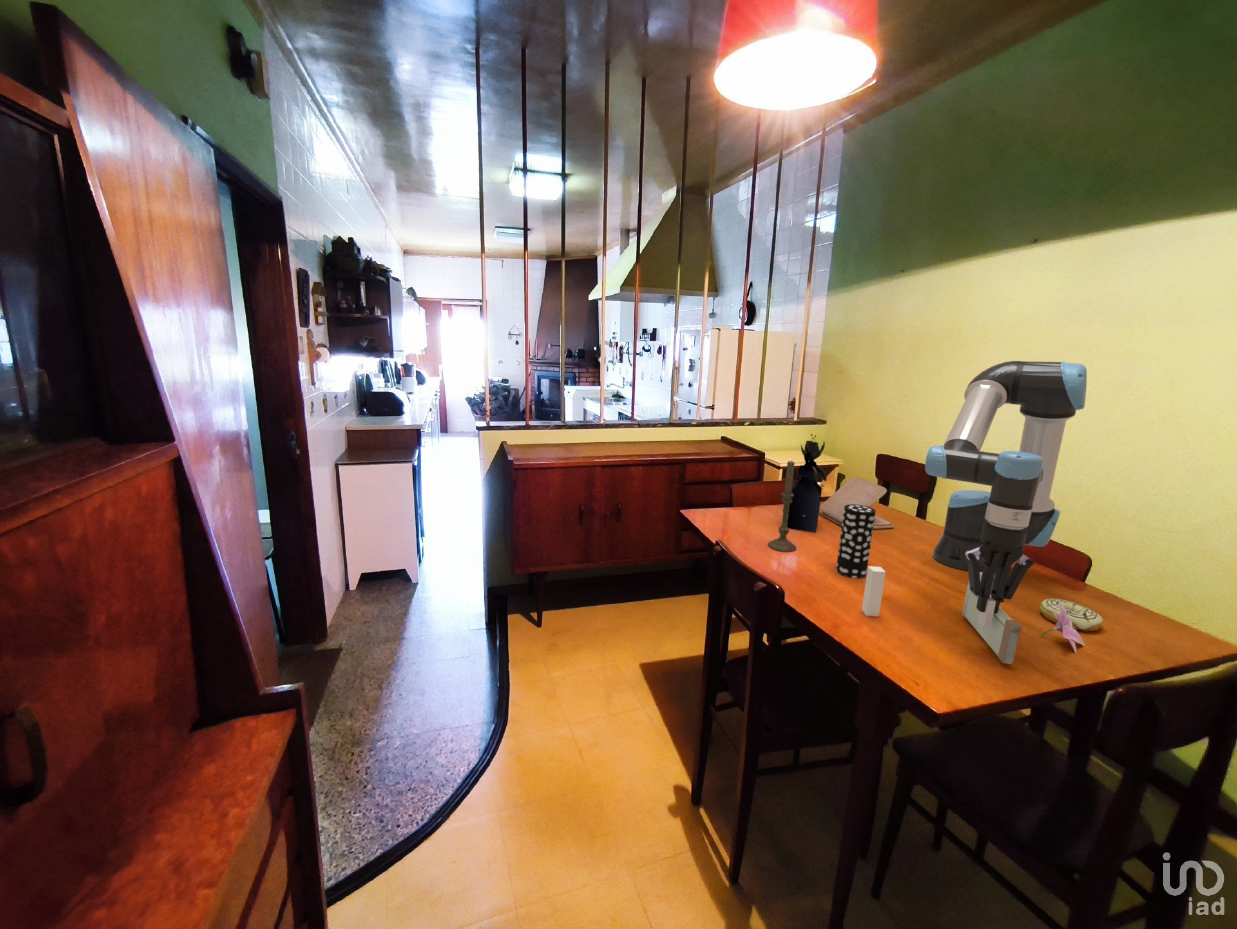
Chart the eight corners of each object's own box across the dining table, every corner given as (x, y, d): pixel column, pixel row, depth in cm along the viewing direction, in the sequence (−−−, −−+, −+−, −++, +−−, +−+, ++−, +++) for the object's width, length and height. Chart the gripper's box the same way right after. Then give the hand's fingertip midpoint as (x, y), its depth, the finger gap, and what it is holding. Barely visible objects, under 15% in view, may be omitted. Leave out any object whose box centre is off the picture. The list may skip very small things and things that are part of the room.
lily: (1050, 658, 114) (1084, 634, 110) (1013, 618, 123) (1043, 594, 119) (1078, 664, 118) (1113, 641, 114) (1041, 625, 127) (1071, 602, 123)
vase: (819, 536, 183) (831, 439, 176) (785, 530, 188) (795, 436, 180) (821, 524, 196) (832, 434, 188) (789, 519, 201) (799, 431, 193)
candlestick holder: (781, 553, 166) (791, 463, 160) (762, 544, 174) (770, 457, 167) (802, 549, 170) (812, 461, 164) (782, 540, 178) (791, 455, 172)
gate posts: (983, 616, 130) (992, 572, 127) (990, 623, 127) (1000, 578, 124) (861, 609, 131) (868, 566, 129) (866, 615, 128) (873, 571, 126)
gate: (960, 612, 129) (967, 579, 127) (969, 613, 129) (976, 580, 127) (1002, 662, 109) (1010, 624, 107) (1013, 664, 108) (1021, 625, 106)
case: (816, 514, 209) (820, 476, 206) (862, 512, 213) (867, 475, 210) (846, 531, 190) (852, 489, 186) (896, 529, 194) (903, 488, 190)
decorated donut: (1091, 639, 121) (1095, 623, 120) (1031, 617, 131) (1035, 602, 130) (1105, 625, 128) (1109, 610, 127) (1047, 606, 137) (1050, 592, 136)
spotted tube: (869, 579, 149) (879, 514, 145) (839, 576, 151) (847, 511, 146) (862, 568, 157) (871, 505, 153) (833, 565, 159) (841, 503, 154)
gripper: (980, 526, 107) (959, 629, 112) (1050, 533, 104) (1025, 638, 109) (964, 515, 114) (944, 613, 119) (1029, 522, 112) (1006, 620, 117)
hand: (983, 625), depth 114 cm, fingers closed
